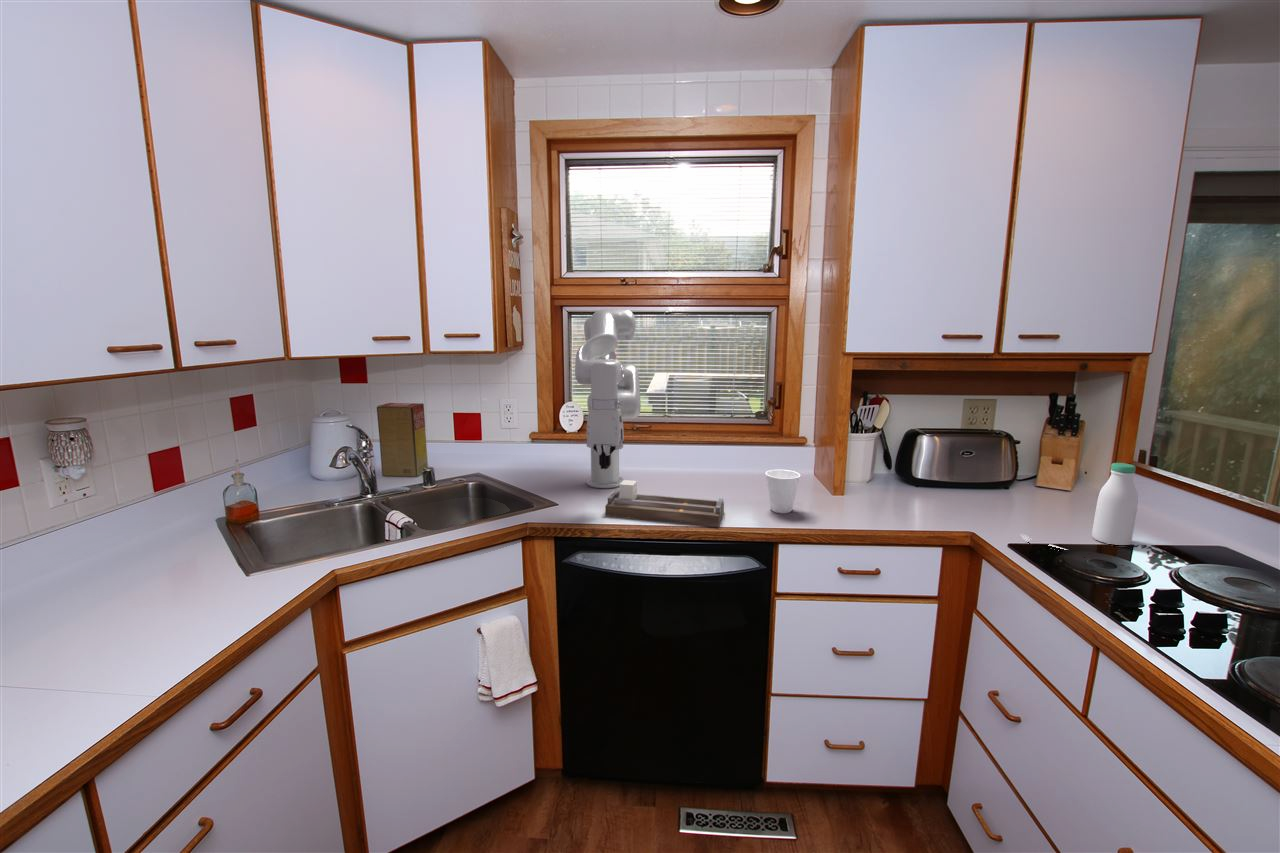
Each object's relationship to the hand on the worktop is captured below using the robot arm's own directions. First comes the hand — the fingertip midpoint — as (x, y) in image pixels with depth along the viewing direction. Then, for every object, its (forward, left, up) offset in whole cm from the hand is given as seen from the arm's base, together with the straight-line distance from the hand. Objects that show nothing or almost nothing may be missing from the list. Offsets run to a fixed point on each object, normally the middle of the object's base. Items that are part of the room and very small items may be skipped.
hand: (605, 467), depth 163 cm
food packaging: (-18, -81, -13) cm, 84 cm away
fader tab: (-1, +7, -9) cm, 11 cm away
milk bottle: (-11, +131, -13) cm, 132 cm away
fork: (0, +117, -13) cm, 118 cm away
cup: (-13, +50, -13) cm, 53 cm away
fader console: (-1, +18, -13) cm, 22 cm away
